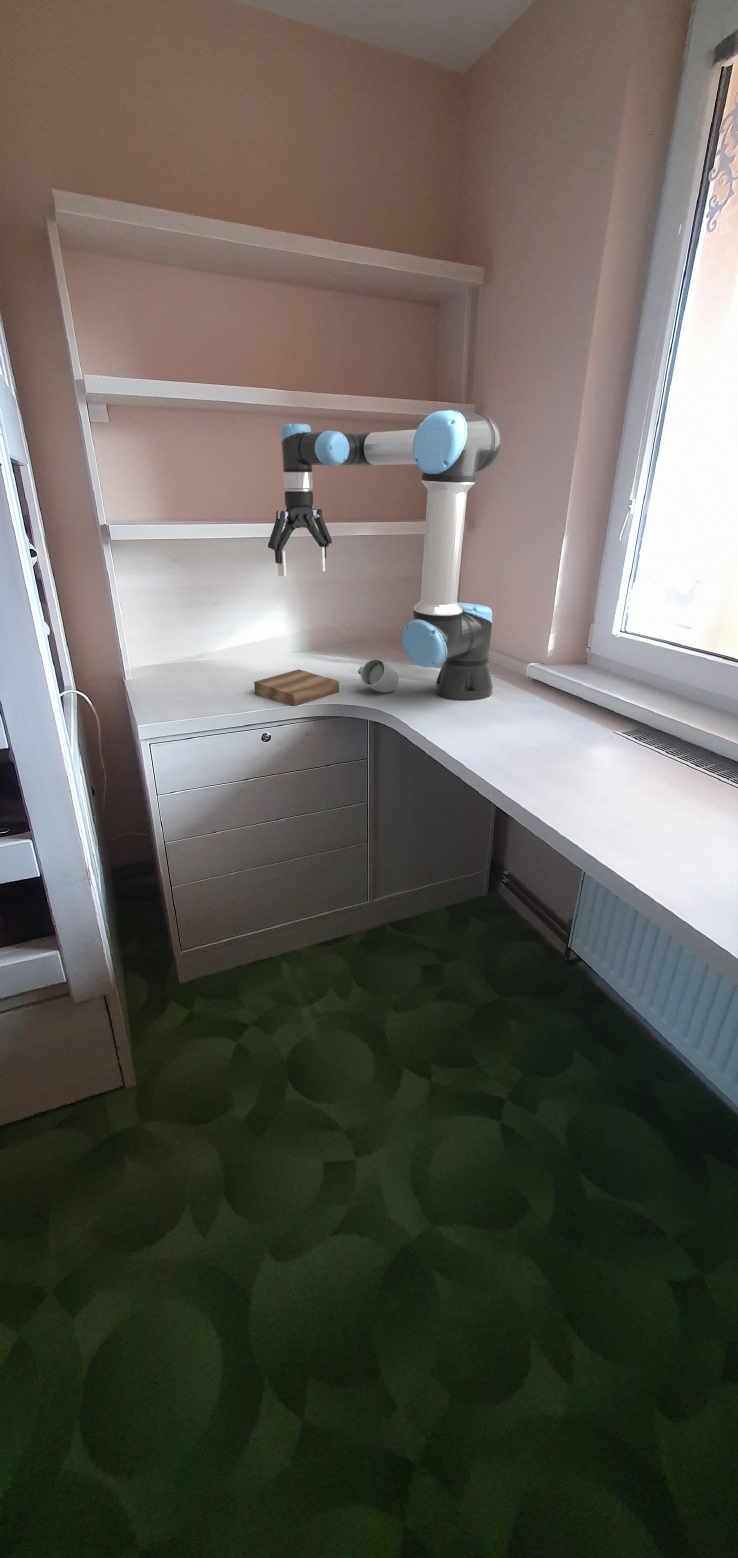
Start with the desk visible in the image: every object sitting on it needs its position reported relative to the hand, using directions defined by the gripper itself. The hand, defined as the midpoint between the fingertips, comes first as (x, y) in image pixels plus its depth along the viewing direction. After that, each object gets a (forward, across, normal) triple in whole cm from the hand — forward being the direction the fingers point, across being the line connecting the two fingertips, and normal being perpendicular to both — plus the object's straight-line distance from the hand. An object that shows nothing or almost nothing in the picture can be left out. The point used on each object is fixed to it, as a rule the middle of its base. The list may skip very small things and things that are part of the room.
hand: (302, 573), depth 181 cm
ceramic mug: (+29, -2, +28) cm, 40 cm away
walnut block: (+29, +14, +15) cm, 35 cm away
